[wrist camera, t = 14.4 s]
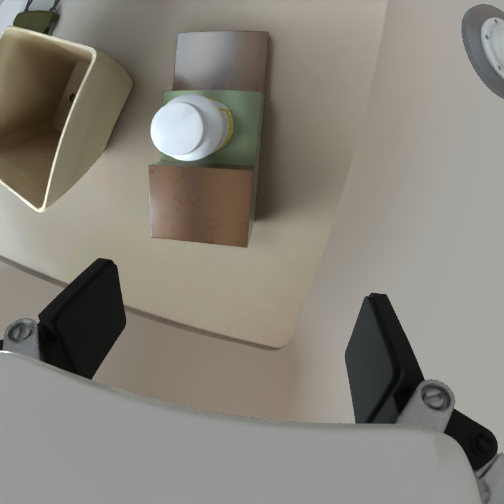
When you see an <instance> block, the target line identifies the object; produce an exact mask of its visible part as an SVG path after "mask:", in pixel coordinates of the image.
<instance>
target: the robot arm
mask: <svg viewBox="0 0 504 504" xmlns="http://www.w3.org/2000/svg"><path fill="white" fill-rule="evenodd" d="M481 42H482V46H483V49H484V52H485V54H486V57H487V59H488V61H489V62H490V64H491V66H492V67H493V69H494V70H495V71H496V73H497V74H498V75H499V76H500V77H501V78H502V79H503V80H504V21H503V20H502V19H499V18H489V19H487V20H485V21H484V22H483V24H482V26H481ZM38 317H39V320H40V322H39V323H38V324H37V323H36V322H35V321H34V320H32V319H29V318H23V319H19V320H16V321H14V322H13V323H11V324H10V325H9V326H8V327H7V329H6V330H5V334H4V339H3V340H0V504H504V454H503V453H500V454H498V453H497V449H498V445H497V440H496V438H495V436H494V435H493V434H492V432H491V431H489V430H488V429H486V428H485V427H483V426H481V425H480V424H478V423H477V422H475V421H473V420H472V419H470V418H469V417H467V416H465V415H463V414H462V413H460V412H459V411H457V410H456V409H454V405H455V398H454V394H453V392H452V390H451V389H450V388H449V387H448V386H447V385H445V384H444V383H443V382H440V381H438V380H432V379H430V380H425V379H424V377H423V374H422V372H421V369H420V367H419V365H418V362H417V360H416V357H415V355H414V353H413V350H412V348H411V345H410V343H409V341H408V339H407V337H406V334H405V332H404V331H403V329H402V326H401V324H400V322H399V320H398V318H397V316H396V313H395V311H394V309H393V307H392V305H391V303H390V301H389V299H388V297H387V295H386V294H378V293H371V294H370V295H369V297H368V296H366V297H365V298H364V300H363V303H362V307H361V309H360V312H359V315H358V318H357V321H356V324H355V327H354V330H353V333H352V336H351V338H350V341H349V343H348V346H347V349H346V352H345V362H346V367H347V373H348V378H349V384H350V390H351V396H352V402H353V408H354V415H355V422H356V424H341V423H312V422H295V421H282V420H272V419H262V418H254V417H246V416H238V415H231V414H225V413H219V412H213V411H208V410H202V409H197V408H192V407H187V406H182V405H177V404H173V403H169V402H164V401H160V400H157V399H153V398H149V397H145V396H141V395H138V394H134V393H131V392H127V391H124V390H120V389H117V388H114V387H111V386H108V385H105V384H102V383H99V382H96V381H93V380H91V379H92V377H93V376H94V374H95V373H96V371H97V370H98V368H99V366H100V365H101V363H102V362H103V360H104V358H105V357H106V355H107V354H108V352H109V351H110V349H111V348H112V346H113V345H114V343H115V341H116V340H117V338H118V337H119V335H120V334H121V332H122V331H123V329H124V328H125V325H126V316H125V311H124V305H123V300H122V294H121V288H120V282H119V275H118V269H117V266H116V265H115V264H114V262H113V261H112V260H109V259H103V258H98V259H97V260H96V261H94V262H93V263H92V264H91V265H90V266H89V267H88V268H87V269H86V270H84V271H83V272H82V273H81V274H80V275H79V276H78V277H77V278H76V279H75V280H74V281H73V282H72V283H70V284H69V285H68V286H67V287H66V288H65V289H64V290H63V291H62V292H61V293H60V294H59V295H58V296H57V297H56V298H55V299H54V300H53V301H52V302H51V303H50V304H49V305H48V306H47V307H46V308H45V309H44V310H43V311H42V312H41V313H40V314H39V315H38Z"/></svg>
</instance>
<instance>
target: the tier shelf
mask: <svg viewBox="0 0 504 504" xmlns="http://www.w3.org/2000/svg"><path fill="white" fill-rule="evenodd" d="M268 46H269V32H263V31H200V32H185V33H178V39H177V48H176V58H175V70H174V82H173V91H163V100H162V107H163V106H165V105H166V104H167V103H168V102H169V101H171V100H172V99H174V98H176V97H178V96H181V95H186V94H197V95H201V96H205V97H208V98H212V99H215V100H218V101H220V102H222V103H223V104H225V105H226V106H227V107H228V108H229V109H230V111H231V112H232V115H233V117H234V123H235V127H234V132H233V135H232V137H231V139H230V141H229V142H228V143H227V144H226V145H225V146H224V147H222V148H221V149H219V150H217V151H215V152H213V153H211V154H209V155H207V156H205V157H203V158H201V159H198V160H194V161H183V160H179V159H176V158H174V157H172V156H170V155H167V154H165V153H163V152H161V161H159V162H157V163H154V164H152V165H149V196H150V221H151V237H153V238H162V239H172V240H181V241H191V242H200V243H210V244H219V245H229V246H238V247H247V246H248V243H249V239H250V235H251V231H252V228H253V224H254V218H255V205H256V193H257V181H258V168H259V156H260V144H261V132H262V119H263V107H264V95H265V82H266V70H267V58H268Z"/></svg>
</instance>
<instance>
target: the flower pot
mask: <svg viewBox="0 0 504 504" xmlns="http://www.w3.org/2000/svg"><path fill="white" fill-rule="evenodd" d="M132 88H133V82H132V79H131V77H130V76H129V74H128V73H127V72H126V70H125V69H124V68H123V67H122V66H121V65H120V64H119V63H117V62H116V61H115V60H114V59H112V58H111V57H109V56H108V55H106V54H105V53H103V52H101V51H99V50H97V49H95V48H93V47H90V46H86V45H83V44H79V43H76V42H72V41H69V40H65V39H61V38H58V37H54V36H50V35H47V34H43V33H39V32H35V31H31V30H27V29H23V28H19V27H15V26H11V25H10V26H8V27H6V28H5V30H4V31H3V33H2V36H1V38H0V183H2V184H3V185H4V186H5V187H7V188H8V189H9V190H10V191H12V192H13V193H14V194H15V195H17V196H18V197H19V198H20V199H22V200H23V201H24V202H25V203H27V204H28V205H29V206H31V207H32V208H33V209H34V210H36V211H37V212H40V213H41V212H43V211H44V210H46V209H47V208H48V207H50V206H51V205H52V204H53V203H54V202H56V201H57V200H58V199H59V198H60V197H61V196H62V195H63V194H65V193H66V192H67V191H68V190H69V189H70V188H71V187H72V186H73V185H74V184H75V183H76V182H77V181H78V180H79V179H80V178H81V177H82V176H83V175H84V174H85V173H86V172H87V171H88V170H89V169H90V167H91V166H92V165H93V164H94V163H95V162H96V160H97V159H98V158H99V157H100V156H101V154H102V153H103V152H104V150H105V147H106V145H107V142H108V140H109V138H110V135H111V133H112V130H113V128H114V126H115V124H116V121H117V119H118V117H119V115H120V112H121V110H122V108H123V106H124V104H125V102H126V100H127V98H128V96H129V94H130V92H131V90H132ZM73 93H74V94H75V99H74V101H70V95H71V94H73Z"/></svg>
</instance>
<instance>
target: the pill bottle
mask: <svg viewBox="0 0 504 504" xmlns="http://www.w3.org/2000/svg"><path fill="white" fill-rule="evenodd" d="M234 127H235V123H234V117H233V115H232V112H231V111H230V109H229V108H228V107H227V106H226V105H225V104H223V103H222V102H220V101H218V100H215V99H212V98H208V97H205V96H201V95H197V94H186V95H181V96H178V97H176V98H174V99H172V100H171V101H169V102H168V103H167V104H166V105H165V106H163V107H162V108H161V109H160V110H159V111H158V112H157V113H156V114H155V116H154V118H153V120H152V123H151V137H152V140H153V142H154V144H155V146H156V147H157V148H158V149H159V150H160V151H161V152H163V153H165V154H167V155H170V156H172V157H174V158H176V159H179V160H183V161H194V160H198V159H201V158H203V157H205V156H207V155H209V154H211V153H213V152H215V151H217V150H219V149H221V148H222V147H224V146H225V145H226V144H227V143H228V142H229V141H230V139H231V137H232V135H233V132H234Z"/></svg>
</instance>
